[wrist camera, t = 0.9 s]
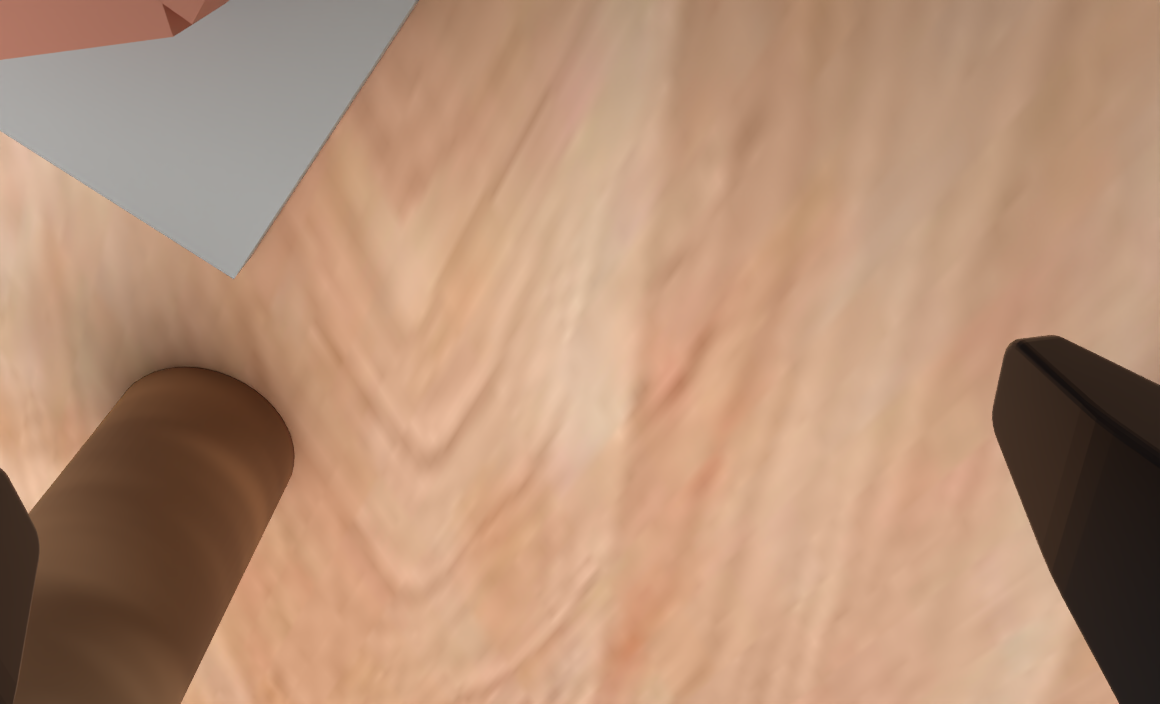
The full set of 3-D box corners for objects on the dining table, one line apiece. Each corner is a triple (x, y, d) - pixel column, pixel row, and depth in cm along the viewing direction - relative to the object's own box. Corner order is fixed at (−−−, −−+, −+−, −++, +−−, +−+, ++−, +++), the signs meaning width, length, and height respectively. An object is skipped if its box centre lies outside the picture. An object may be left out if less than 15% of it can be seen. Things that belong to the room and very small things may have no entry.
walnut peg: (326, 433, 25) (32, 1066, 13) (242, 542, 27) (-82, 1181, 15) (162, 333, 24) (-323, 926, 12) (85, 454, 26) (-398, 1069, 14)
